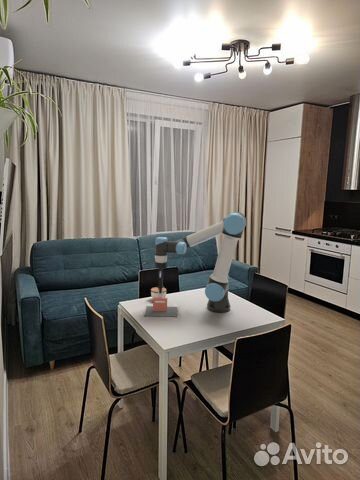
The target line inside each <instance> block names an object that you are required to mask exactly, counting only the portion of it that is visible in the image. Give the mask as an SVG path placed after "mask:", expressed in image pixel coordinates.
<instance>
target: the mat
mask: <svg viewBox="0 0 360 480" xmlns="http://www.w3.org/2000/svg"><path fill="white" fill-rule="evenodd" d="M143 316H144V317H149V318H150V317H151V318H152V317H155V318H157V317H158V318H159V317H163V318H166V317H167V318H169V317H170V318H178V306H167V311H153V305H152V306H151V305H147V306H146V308H145V311H144V315H143Z"/></svg>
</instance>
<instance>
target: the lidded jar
mask: <svg viewBox="0 0 360 480" xmlns="http://www.w3.org/2000/svg"><path fill="white" fill-rule="evenodd" d="M157 287H158V286H156V287H152V288H151V289H150V295H151V296H150V297H151V298H152V299H153V297H157V298H158V288H157ZM166 295H167V288H165V287H163V298H166V297H167V296H166Z"/></svg>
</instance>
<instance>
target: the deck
mask: <svg viewBox="0 0 360 480" xmlns="http://www.w3.org/2000/svg"><path fill="white" fill-rule="evenodd" d="M152 306H153V311H167V307H168V297H165V298H157V297H153V298H152Z"/></svg>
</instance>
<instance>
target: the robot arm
mask: <svg viewBox="0 0 360 480" xmlns="http://www.w3.org/2000/svg"><path fill="white" fill-rule="evenodd" d="M247 220H248V219H247V217H246V216H245V214H243V213H242V212H239V211H235V212H232V213H229V214H228V215H227V216H226V217H224V218H222V220H221V221H219V222H217V223H215V224H214V223H213V224H212V225H210V226H208V227H206V228H203V229H201V230H198V231H196V232H193V233H191V234H189V235H187V236H184V237H182V238H179V239H178V240H176V241H173V240H172V241H171V240H168V237H166V236H165V237H164V236H158V237H156V238H155V244H154V250H155V251H154V253H155V254H154V258H155V259H154V268H155V269H158V270H157V278H158V279H157V281H158V285H157V286H156V287H157V288H158V298H163V288H165V286H164V284H163V283H164V276H165V275H164V273H165V270H164V269H166V268H167V267H168V262H167V261H168V254H176V255H185V254H186V253H187V249H189V248H192V247H194V246H197V245H199V244H201V243H204V242H206V241H209V240H210V239H211V240H212V239H214V238H216V237H218V236H223V237H222V241H221V244H220V248H219V252H218V255H217V259H216V262H215V265H214V266H215V267H214V269H213V273H211V275H209V278H208V280H207V285H206V286H205V288H204V294H205V296H206V298H207V299H208V301H207V305H206V309H207V310H209V311H210V312H214V313H227V312H229V311H231V304H230V300H229V287H230V286H229V285H230V284H229V283H230V275H229V272H230V268H231V266H232V265H231V264H232V261H233V258H234V255H235V251H236V248H237V245H238V241H239V240H241V239H242V236H243V234H244V229H245V227H246V226H247Z"/></svg>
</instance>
